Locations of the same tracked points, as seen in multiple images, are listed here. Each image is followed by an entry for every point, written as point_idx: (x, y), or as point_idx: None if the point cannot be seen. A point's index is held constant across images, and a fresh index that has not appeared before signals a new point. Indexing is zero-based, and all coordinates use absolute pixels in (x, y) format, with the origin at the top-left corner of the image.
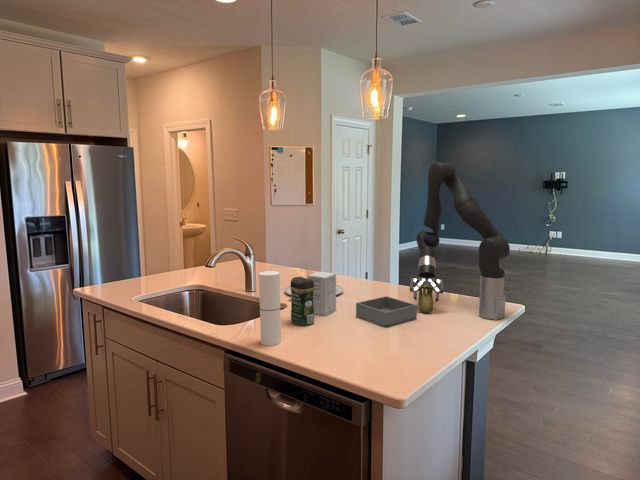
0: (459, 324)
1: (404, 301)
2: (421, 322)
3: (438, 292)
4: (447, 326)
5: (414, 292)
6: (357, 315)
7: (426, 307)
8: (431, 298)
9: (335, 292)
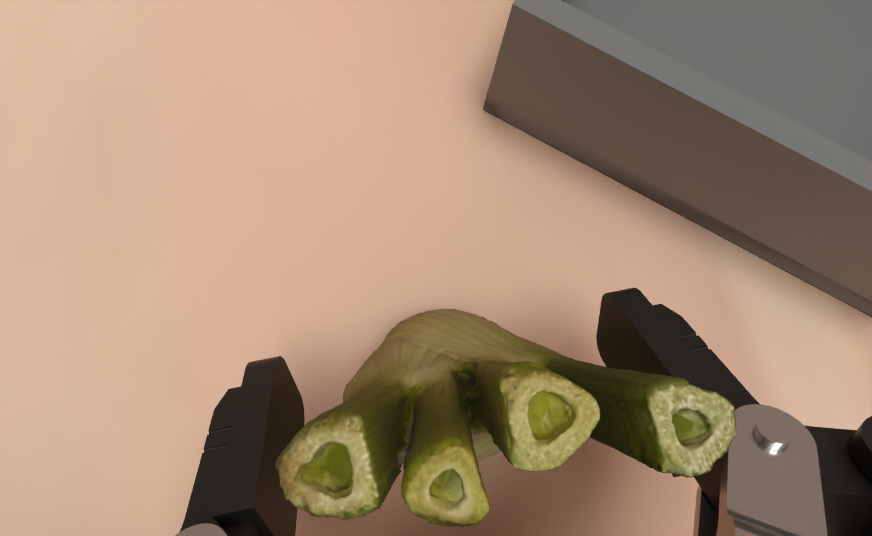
0: (56, 109)
1: (732, 115)
2: (417, 36)
3: (194, 532)
4: (167, 12)
5: (724, 384)
6: None
7: (429, 312)
8: (361, 386)
9: None
